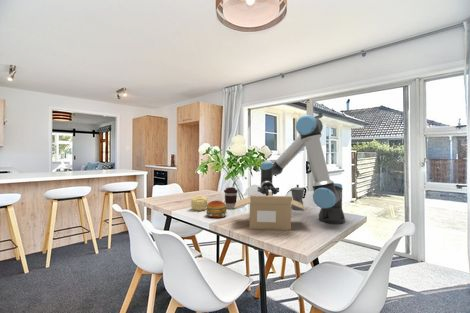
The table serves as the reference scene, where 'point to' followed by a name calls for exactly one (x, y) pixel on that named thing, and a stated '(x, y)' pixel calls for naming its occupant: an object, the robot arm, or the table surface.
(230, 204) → the coffee cup
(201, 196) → the sculpture
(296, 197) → the coffeepot
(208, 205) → the burger
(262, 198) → the near flap
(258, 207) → the carton
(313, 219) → the table surface
